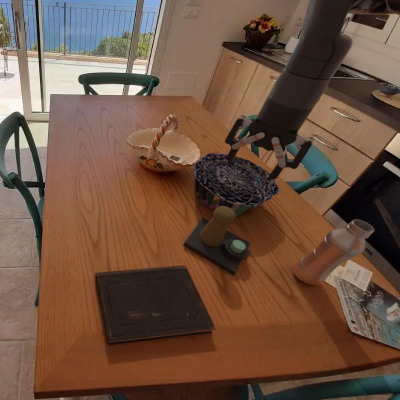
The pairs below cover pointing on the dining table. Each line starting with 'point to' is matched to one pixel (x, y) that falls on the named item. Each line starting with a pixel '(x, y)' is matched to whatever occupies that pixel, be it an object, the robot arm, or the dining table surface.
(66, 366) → the dining table surface
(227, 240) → the dark grey button base
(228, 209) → the cork
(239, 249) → the tare button
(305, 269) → the plastic bottle
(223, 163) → the decorative bowl
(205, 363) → the dining table surface
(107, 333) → the hardcover book
